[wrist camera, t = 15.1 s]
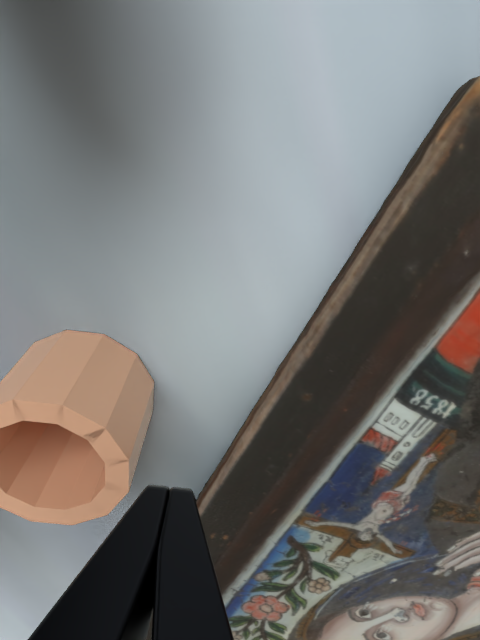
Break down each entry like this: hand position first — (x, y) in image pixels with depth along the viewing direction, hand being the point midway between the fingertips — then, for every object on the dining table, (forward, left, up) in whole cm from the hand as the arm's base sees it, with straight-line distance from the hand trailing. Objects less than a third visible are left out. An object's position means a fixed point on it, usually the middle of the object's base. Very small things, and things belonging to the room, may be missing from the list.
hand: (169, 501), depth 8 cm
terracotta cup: (+8, -6, -13) cm, 16 cm away
